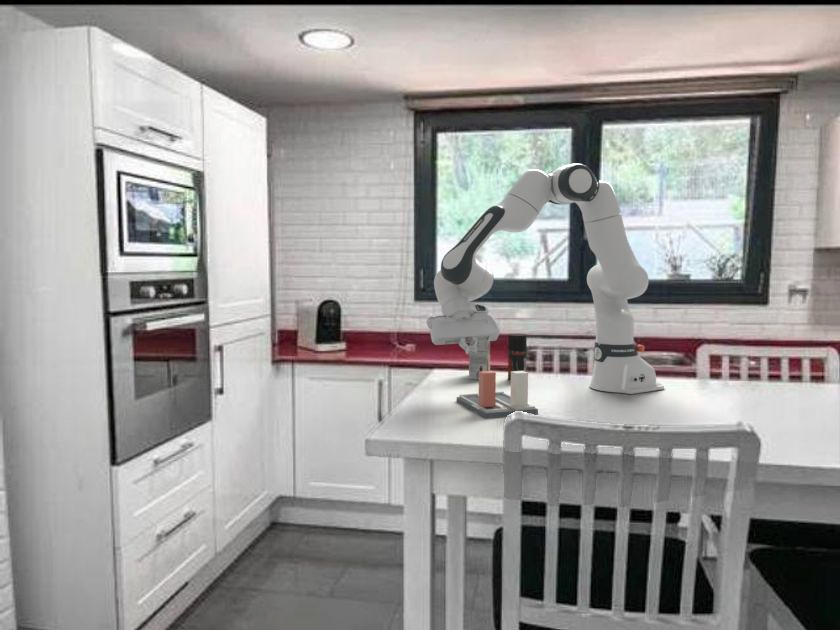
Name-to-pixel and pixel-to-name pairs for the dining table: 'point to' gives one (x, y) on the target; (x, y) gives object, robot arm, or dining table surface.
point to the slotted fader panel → (499, 410)
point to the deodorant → (516, 353)
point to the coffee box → (479, 359)
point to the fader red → (487, 388)
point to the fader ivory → (519, 388)
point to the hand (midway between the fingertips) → (472, 352)
